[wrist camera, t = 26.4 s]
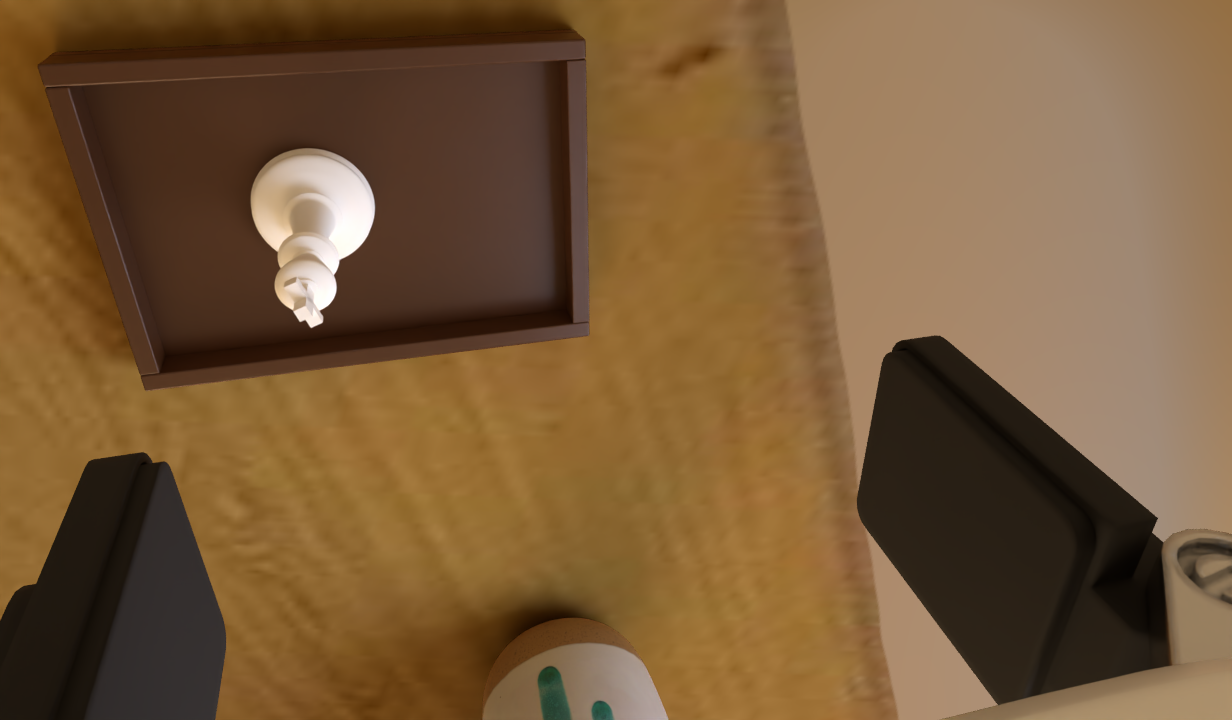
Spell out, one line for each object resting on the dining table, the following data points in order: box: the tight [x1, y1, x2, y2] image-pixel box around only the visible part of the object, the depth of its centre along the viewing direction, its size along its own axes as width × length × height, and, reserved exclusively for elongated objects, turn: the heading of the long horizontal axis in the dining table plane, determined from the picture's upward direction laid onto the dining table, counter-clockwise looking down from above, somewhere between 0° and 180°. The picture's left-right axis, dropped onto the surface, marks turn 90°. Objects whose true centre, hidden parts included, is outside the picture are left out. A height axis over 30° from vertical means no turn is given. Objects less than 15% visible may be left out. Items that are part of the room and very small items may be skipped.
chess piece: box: [251, 148, 375, 328], centre depth 32 cm, size 5×5×10 cm
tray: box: [38, 30, 589, 391], centre depth 36 cm, size 14×20×2 cm
